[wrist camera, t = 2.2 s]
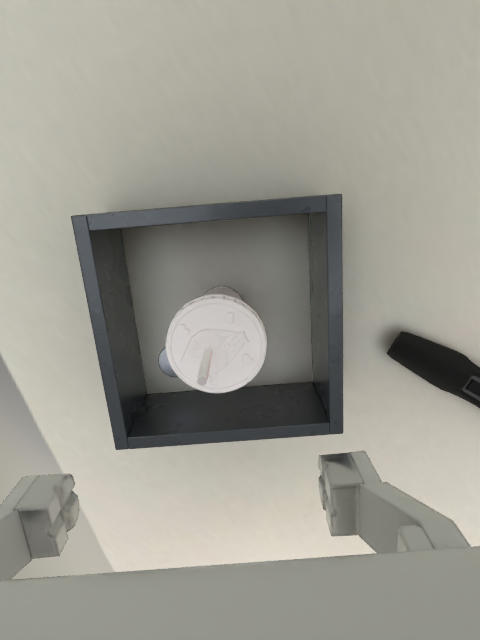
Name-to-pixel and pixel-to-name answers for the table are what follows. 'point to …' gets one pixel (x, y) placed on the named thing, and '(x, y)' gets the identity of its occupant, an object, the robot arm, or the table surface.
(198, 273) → the table surface
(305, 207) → the basin
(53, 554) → the robot arm
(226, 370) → the smoothie
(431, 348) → the electric trimmer
